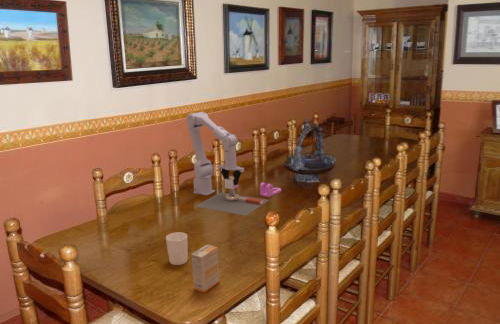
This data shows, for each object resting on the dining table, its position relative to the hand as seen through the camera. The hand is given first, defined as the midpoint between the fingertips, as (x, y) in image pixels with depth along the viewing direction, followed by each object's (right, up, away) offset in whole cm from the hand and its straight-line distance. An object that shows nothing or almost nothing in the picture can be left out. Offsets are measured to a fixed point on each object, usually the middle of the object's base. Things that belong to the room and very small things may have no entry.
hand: (231, 184), depth 231 cm
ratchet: (+6, -9, -1) cm, 11 cm away
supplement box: (-5, -30, -81) cm, 86 cm away
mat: (0, -10, -3) cm, 10 cm away
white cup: (-17, -26, -63) cm, 70 cm away
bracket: (+21, -6, +10) cm, 24 cm away
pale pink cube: (0, -2, 0) cm, 2 cm away
